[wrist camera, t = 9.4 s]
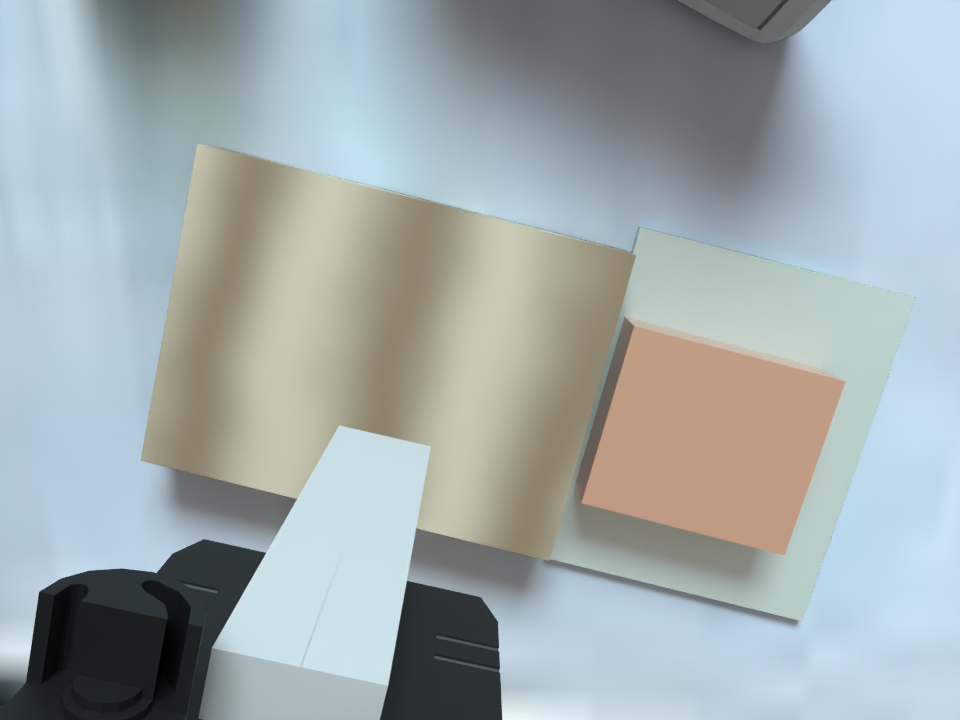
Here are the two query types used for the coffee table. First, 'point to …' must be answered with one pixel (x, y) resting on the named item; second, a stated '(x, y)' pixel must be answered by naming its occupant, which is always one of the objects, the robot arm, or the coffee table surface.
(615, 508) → the terracotta tile
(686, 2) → the digital clock
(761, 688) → the coffee table surface
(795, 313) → the sage mat
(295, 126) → the coffee table surface
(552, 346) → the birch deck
